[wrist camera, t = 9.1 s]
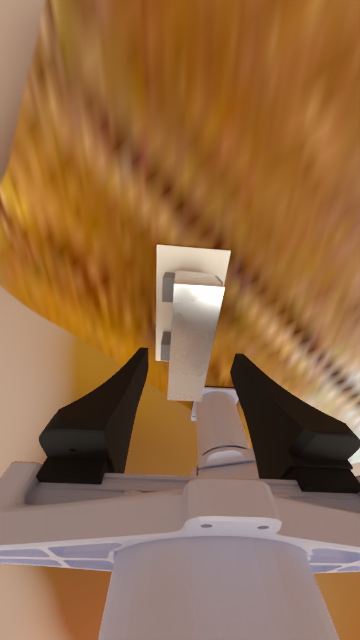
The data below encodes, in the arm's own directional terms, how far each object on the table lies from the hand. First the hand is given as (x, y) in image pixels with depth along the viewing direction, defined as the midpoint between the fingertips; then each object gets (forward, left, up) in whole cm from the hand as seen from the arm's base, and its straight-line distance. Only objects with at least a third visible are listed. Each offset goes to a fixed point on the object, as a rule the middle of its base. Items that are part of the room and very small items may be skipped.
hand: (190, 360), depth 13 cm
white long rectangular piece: (0, 0, -6) cm, 6 cm away
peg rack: (0, 0, -10) cm, 10 cm away
